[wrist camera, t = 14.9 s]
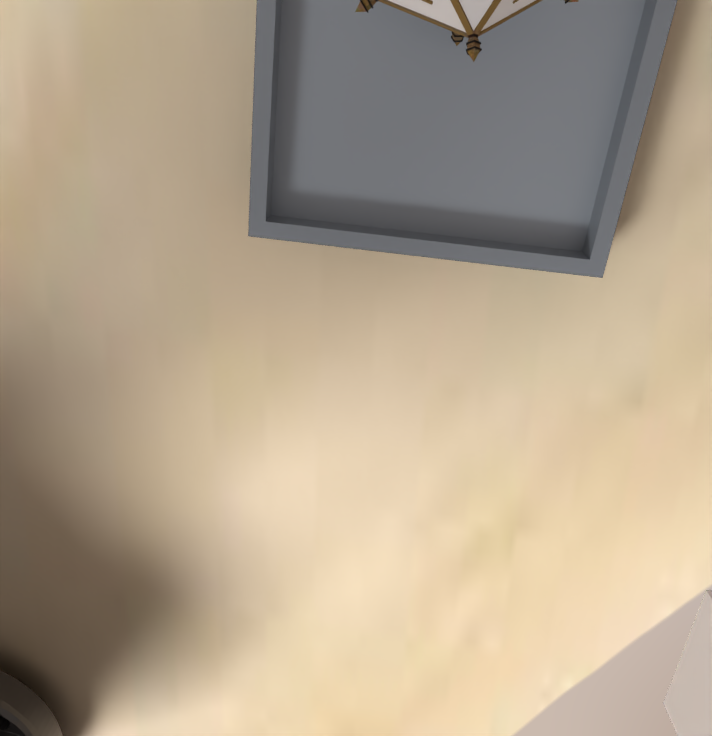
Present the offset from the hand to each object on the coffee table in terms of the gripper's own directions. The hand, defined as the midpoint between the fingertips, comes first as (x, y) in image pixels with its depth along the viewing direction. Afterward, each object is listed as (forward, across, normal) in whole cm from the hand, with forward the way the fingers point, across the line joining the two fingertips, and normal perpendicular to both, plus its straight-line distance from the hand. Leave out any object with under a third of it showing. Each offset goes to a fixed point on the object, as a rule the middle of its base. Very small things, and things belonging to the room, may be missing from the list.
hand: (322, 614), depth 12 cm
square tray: (+26, +3, +10) cm, 28 cm away
